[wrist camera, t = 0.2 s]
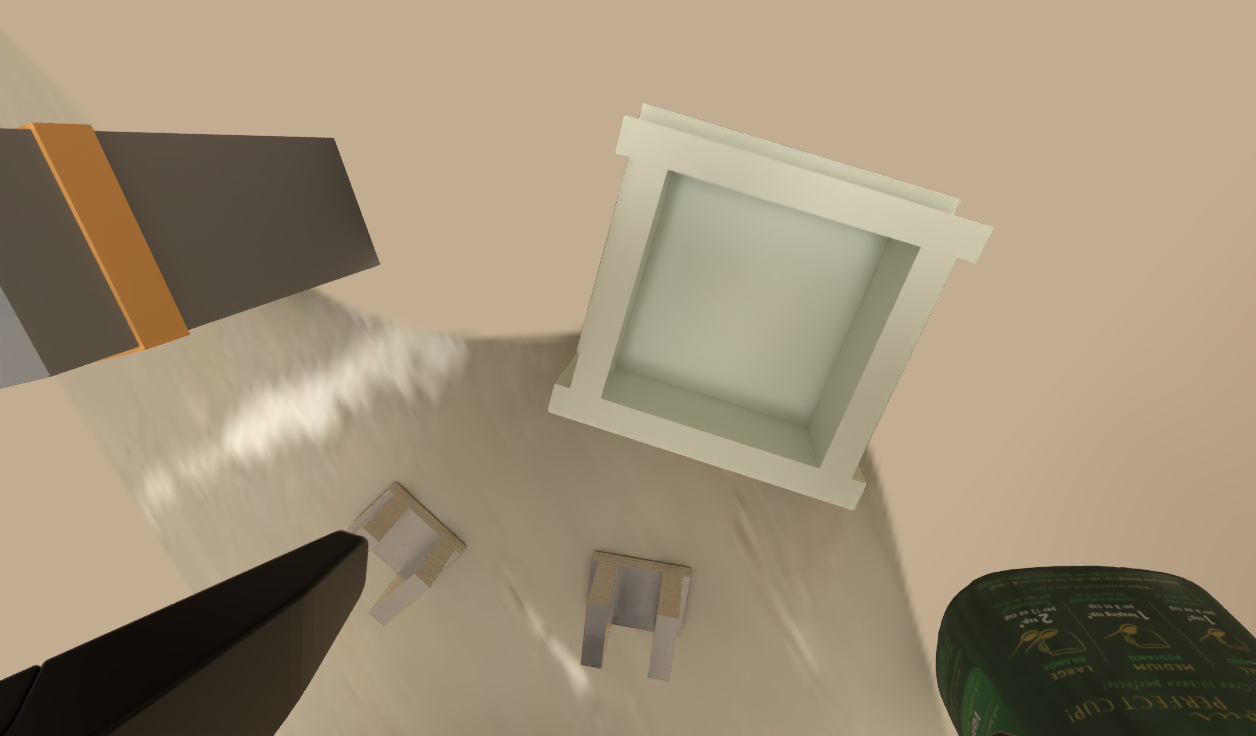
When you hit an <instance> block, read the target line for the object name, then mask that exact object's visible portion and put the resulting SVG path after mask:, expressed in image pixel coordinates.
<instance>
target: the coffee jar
mask: <svg viewBox="0 0 1256 736" xmlns="http://www.w3.org/2000/svg"><path fill="white" fill-rule="evenodd" d="M936 676H937V683H938V688H939V692H940V695H941V697H942V700H943V702H944V705H945V707H946V709H947V711H948V714H949V716H950V718H951V720H952V722H953V725H954V727H955V728H956V731H957V732H958V735H959V736H990V735H991V734H992V733H995V732H997V731H1003V732H1006V733H1009V734H1013V735H1016V736H1256V638H1255V637H1254V636H1253V635H1252V634H1251V633H1250V632H1249V631H1248V630H1247V629H1246V628H1245V627H1244V626H1242V624H1240V622H1239V621H1237V620H1236V619H1235V618H1234V617H1233V616H1232V615H1231V614H1230V613H1229V612H1228V611H1227V610H1226V609H1225V608H1224V607H1223V606H1222V605H1221V604H1220V603H1219V602H1218V601H1217V600H1216V599H1214V598H1213V597H1212V596H1211V595H1210V594H1209V593H1208V592H1207V591H1206V590H1204V589H1203V588H1201V587H1200V586H1198V585H1196V584H1195V583H1193V582H1191V581H1188V580H1186V579H1184V578H1182V577H1179V576H1175V575H1172V574H1168V573H1162V572H1156V571H1149V570H1143V569H1132V568H1125V567H1120V568H1118V567H1106V566H1052V567H1034V568H1024V569H1011V570H1005V571H1000V572H994V573H990V574H987V575H984V576H982V577H980V578H977V579H975V580H973V581H972V582H971V583H970V584H969V585H968V586H966V587H965V588H964V589H962V590H961V591H960V592H959V593H958V594H957V595H956V596H955V597H954V598H953V599H952V601H951V602H950V604H949V605H948V607H947V609H946V611H945V614H944V616H943V619H942V622H941V626H940V629H939V633H938V644H937V651H936Z"/></svg>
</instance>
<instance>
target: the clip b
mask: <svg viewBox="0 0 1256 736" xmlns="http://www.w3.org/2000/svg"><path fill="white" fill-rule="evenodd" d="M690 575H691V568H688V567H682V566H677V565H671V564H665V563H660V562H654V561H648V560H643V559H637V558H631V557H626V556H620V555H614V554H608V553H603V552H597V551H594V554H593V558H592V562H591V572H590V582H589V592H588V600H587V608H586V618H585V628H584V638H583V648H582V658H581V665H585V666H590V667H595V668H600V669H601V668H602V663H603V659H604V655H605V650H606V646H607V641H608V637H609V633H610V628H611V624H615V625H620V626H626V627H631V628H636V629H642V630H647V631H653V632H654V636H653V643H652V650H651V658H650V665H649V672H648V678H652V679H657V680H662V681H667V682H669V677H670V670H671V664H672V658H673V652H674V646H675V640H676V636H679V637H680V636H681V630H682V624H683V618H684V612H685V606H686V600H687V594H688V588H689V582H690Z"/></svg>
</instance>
